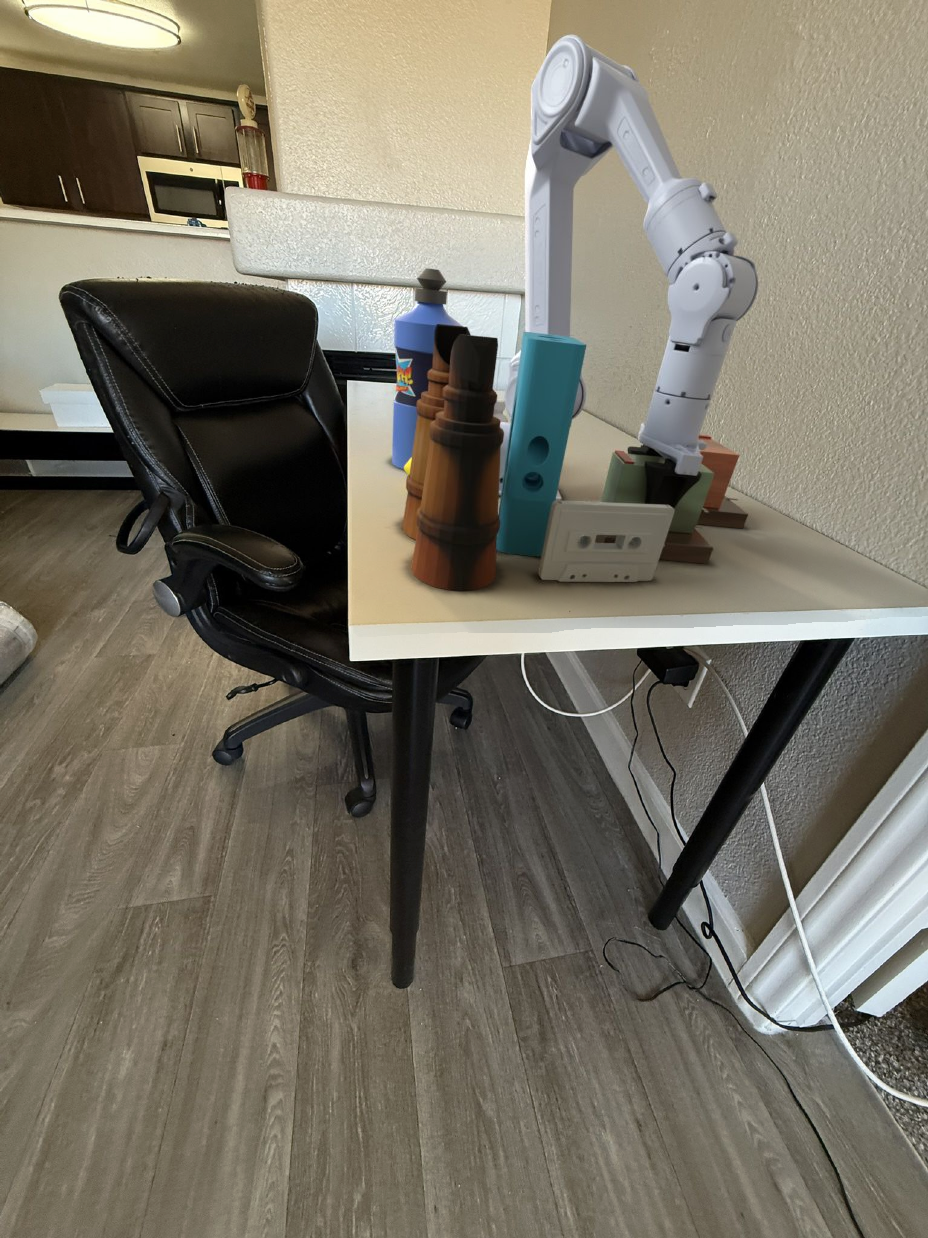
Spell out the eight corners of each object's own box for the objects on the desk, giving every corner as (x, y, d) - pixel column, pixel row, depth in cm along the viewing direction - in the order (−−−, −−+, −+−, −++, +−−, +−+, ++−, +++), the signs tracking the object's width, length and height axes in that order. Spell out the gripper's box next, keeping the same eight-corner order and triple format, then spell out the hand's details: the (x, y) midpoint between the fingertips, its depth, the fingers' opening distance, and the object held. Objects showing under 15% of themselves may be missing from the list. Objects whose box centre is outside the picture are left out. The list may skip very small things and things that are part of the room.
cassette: (541, 582, 50) (556, 505, 46) (535, 573, 51) (549, 498, 47) (655, 583, 52) (679, 509, 48) (646, 574, 53) (669, 502, 49)
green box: (678, 518, 64) (698, 458, 60) (693, 533, 59) (715, 470, 55) (598, 510, 63) (613, 449, 59) (607, 525, 59) (624, 461, 55)
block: (544, 564, 53) (588, 345, 43) (495, 558, 53) (527, 338, 43) (537, 522, 63) (571, 337, 53) (497, 517, 63) (523, 331, 53)
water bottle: (404, 474, 74) (412, 264, 61) (382, 456, 81) (385, 264, 68) (462, 471, 78) (481, 274, 65) (436, 454, 85) (449, 272, 72)
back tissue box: (719, 508, 69) (740, 453, 65) (682, 504, 68) (701, 448, 65) (692, 485, 77) (709, 435, 73) (659, 481, 77) (674, 431, 73)
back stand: (754, 532, 68) (761, 516, 67) (648, 521, 67) (653, 506, 66) (712, 497, 80) (717, 483, 79) (621, 488, 80) (625, 473, 78)
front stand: (721, 569, 57) (728, 551, 55) (593, 557, 56) (597, 538, 55) (677, 521, 69) (682, 506, 67) (571, 511, 68) (575, 495, 67)
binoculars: (505, 590, 47) (544, 345, 37) (415, 591, 46) (430, 334, 35) (467, 516, 63) (486, 327, 52) (398, 514, 61) (404, 318, 50)
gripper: (751, 411, 48) (701, 546, 55) (694, 388, 60) (659, 501, 67) (677, 403, 48) (636, 540, 55) (634, 381, 60) (606, 495, 67)
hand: (645, 518), depth 61 cm, fingers closed on green box, 5 cm apart
